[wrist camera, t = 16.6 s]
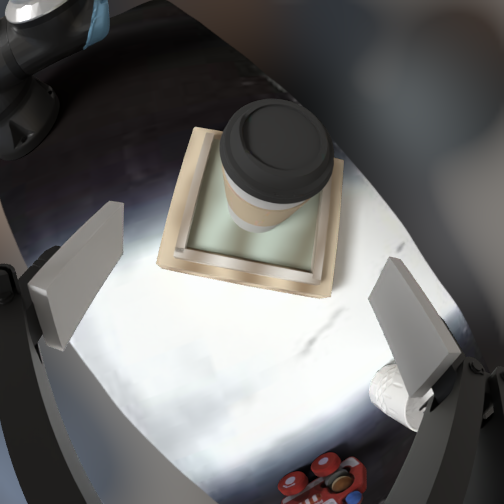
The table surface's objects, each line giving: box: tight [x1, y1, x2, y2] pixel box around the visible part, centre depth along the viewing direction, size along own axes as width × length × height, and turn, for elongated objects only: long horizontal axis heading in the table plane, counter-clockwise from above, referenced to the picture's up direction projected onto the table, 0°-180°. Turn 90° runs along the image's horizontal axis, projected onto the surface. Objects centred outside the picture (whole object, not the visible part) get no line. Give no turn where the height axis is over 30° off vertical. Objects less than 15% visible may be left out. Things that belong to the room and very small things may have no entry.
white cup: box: [369, 364, 434, 432], centre depth 31 cm, size 8×8×10 cm
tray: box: [156, 127, 344, 299], centre depth 36 cm, size 20×18×6 cm
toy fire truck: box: [278, 452, 366, 504], centre depth 27 cm, size 7×12×10 cm, turn 120°
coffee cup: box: [219, 99, 334, 233], centre depth 27 cm, size 9×9×15 cm
